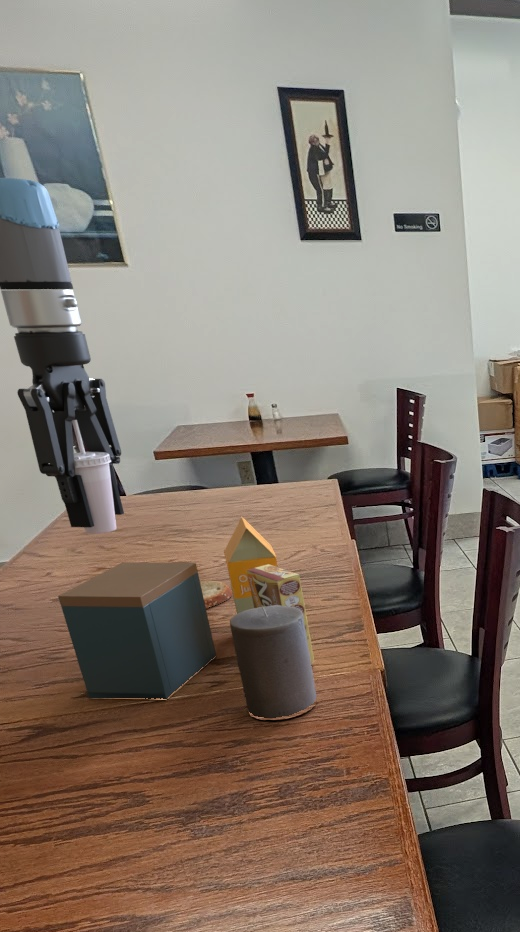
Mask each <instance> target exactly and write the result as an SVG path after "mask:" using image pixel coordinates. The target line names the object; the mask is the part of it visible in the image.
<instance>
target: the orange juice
mask: <svg viewBox="0 0 520 932" xmlns="http://www.w3.org/2000/svg"><path fill="white" fill-rule="evenodd" d="M223 554H224V558H225V562H226V569H227V573H228V579H229V583H230V589H231V591H232V598H233V602H234V606H235V612H236V614H238V613H241V612H243V611H246V610H250V609H254V604H253V600H252V595H251V590H250V585H249V580H248V575H247V570H249V569H252V568H256V567H260V566H264V565H268V564H269V565H272V566H275V567H278V562H277V558H278V557H277V555H276V553H275V551H274V549H273V547H272V544H271V543H269V542H268V541H267V540H266V539H265V537H263V536H262V535H261V534H260V533H259V532H258V531H257V530H256V529H255V528H254V527H253V526H252V524H250V523H249V522H248V521H247V520H246V519H245V518H244V517H243V516H242V515H241V517H240V519H239V521H238V523H237V525H236V527H235V529H234V531H233V533H232V535H231V537H230V538H229V541H228V543H227V545H226V547H225V549H224V550H223ZM278 568H279V567H278Z"/></svg>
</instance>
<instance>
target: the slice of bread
mask: <svg viewBox="0 0 520 932" xmlns="http://www.w3.org/2000/svg"><path fill="white" fill-rule="evenodd" d="M200 584H201V589H202V593H203V598H204V602H205V607H206V610H207V609H210V608H213V607H216V606H218V604H219V605H221V604H223V603H225V602H226V600H227V601H229V599H231V598H230V597H233V594H232V589H231V587H229V586H228V585H227V584H226V583H225V582H222V581H219V580H208V581H200ZM224 601H225V602H224ZM222 602H223V603H222ZM220 603H221V604H220ZM215 605H216V606H215ZM212 606H213V607H212ZM209 607H210V608H209Z"/></svg>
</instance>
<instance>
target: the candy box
mask: <svg viewBox="0 0 520 932" xmlns="http://www.w3.org/2000/svg"><path fill="white" fill-rule="evenodd" d="M247 575H248V580H249V585H250V590H251V595H252V600H253V604H254V608H259V607H267V606H274V605H280V606H289V607H294V608H297V609H300V611H302V613H303V618H304V624H305V630H306V637H307V642H308V648H309V654H310V660H311V664H312V663H314V662H315V657H314V650H313V646H312V639H311V635H310V629H309V628H310V627H309V622H308V617H307V611H306V604H305V599H304V594H303V589H302V583H301V576H300V574H299V573H295V572H294V571H290V570H288V569H284V568H281V567H275V566H272V565H269V564H268V565H264V566H260V567H256V568H252V569H249V570H247Z"/></svg>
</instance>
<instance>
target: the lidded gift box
mask: <svg viewBox="0 0 520 932" xmlns="http://www.w3.org/2000/svg"><path fill="white" fill-rule="evenodd" d="M200 582H201V579H200V576H199V571H198V567H197V562H139V561H137V562H136V561H135V562H133V561H131V562H130V561H129V562H125V561H124V562H122V561H121V562H120V563H118V564H116V565H114V566H113V567H110V568H109V569H107V570H105V571H103V572H101V573H100V574H97V575H95V576H94V577H92V578H90V579H88V580H86V581H84V582H82V583H80V584H78V585H76V586H74V587H72V588H70V589H69V590H67V591H65V592H63V593H61V594H60V595H58V596H57V597H58V601H59V604H60V607H61V610H62V614H63V617H64V620H65V624H66V627H67V630H68V634H69V637H70V639H71V644H72V647H73V649H74V650H73V651H74V654H75V657H76V659H77V663H78V667H79V670H80V674H81V676H82V680H83V683H84V686H85V690H86V693H87V696H88V699H89V698H145V699H146V698H148V699H151V698H154V699H156V698H160V699H161V698H163V699H167V698H168V697H169V696H170V695H171V694H172V693H173V692H174V691H176V690H177V689H178V688H179V687H180V686H182V684H184V683H185V682H186V681H187V680H189V678H190V677H191V676H193V675H194V674H195V673H196V672H198V671H199V670H200V669H201V668H202V667H204V666H205V665H206V664H207V663H208V662H209V661H210V660H211V659H213V658H214V657H215V656H216V657H217V652H216V648H215V644H214V638H213V634H212V630H211V625H210V621H209V616H208V612H207V609H206V607H205V602H204V598H203V593H202V589H201V584H200Z"/></svg>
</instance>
